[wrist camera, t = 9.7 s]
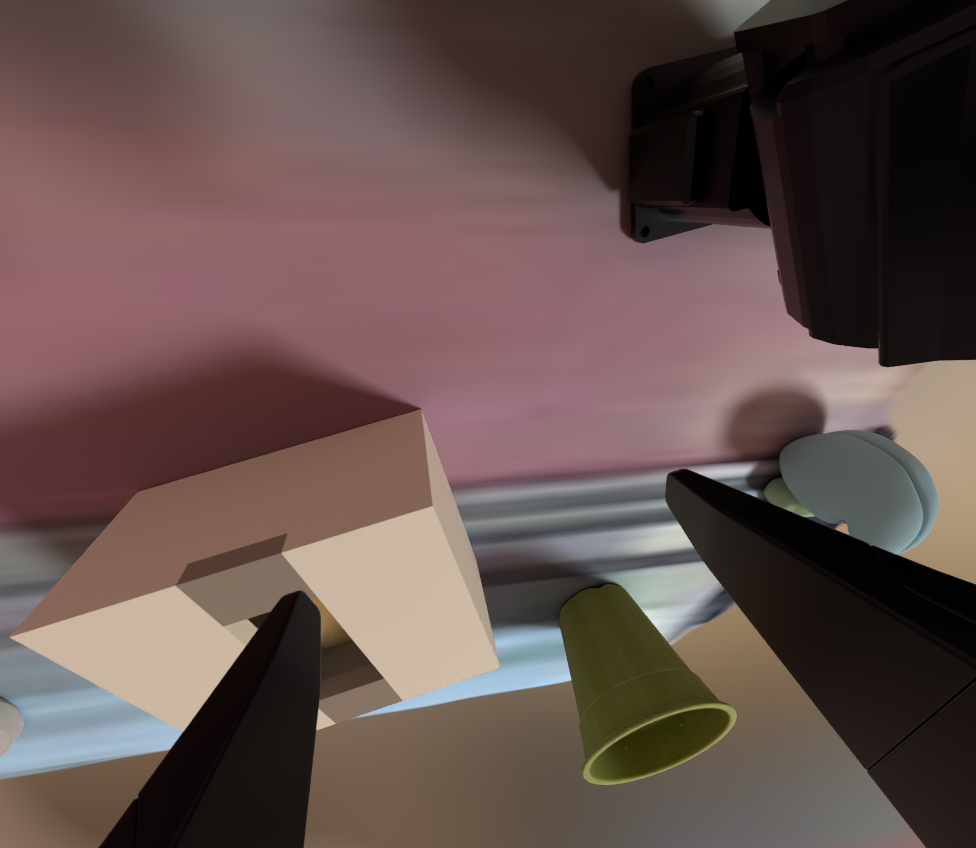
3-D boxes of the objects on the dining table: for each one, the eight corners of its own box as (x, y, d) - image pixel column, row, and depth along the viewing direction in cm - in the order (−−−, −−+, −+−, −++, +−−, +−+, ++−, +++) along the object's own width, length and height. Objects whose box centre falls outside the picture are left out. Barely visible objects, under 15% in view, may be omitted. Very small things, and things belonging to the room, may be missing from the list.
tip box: (421, 408, 21) (432, 505, 15) (475, 558, 29) (500, 667, 22) (137, 491, 20) (9, 637, 14) (272, 624, 28) (232, 758, 21)
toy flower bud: (809, 615, 28) (914, 506, 20) (723, 522, 35) (779, 417, 27) (887, 594, 29) (1012, 484, 22) (788, 508, 36) (858, 403, 29)
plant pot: (670, 566, 35) (769, 700, 26) (614, 639, 41) (680, 772, 31) (563, 561, 31) (634, 717, 22) (516, 643, 37) (557, 796, 27)
